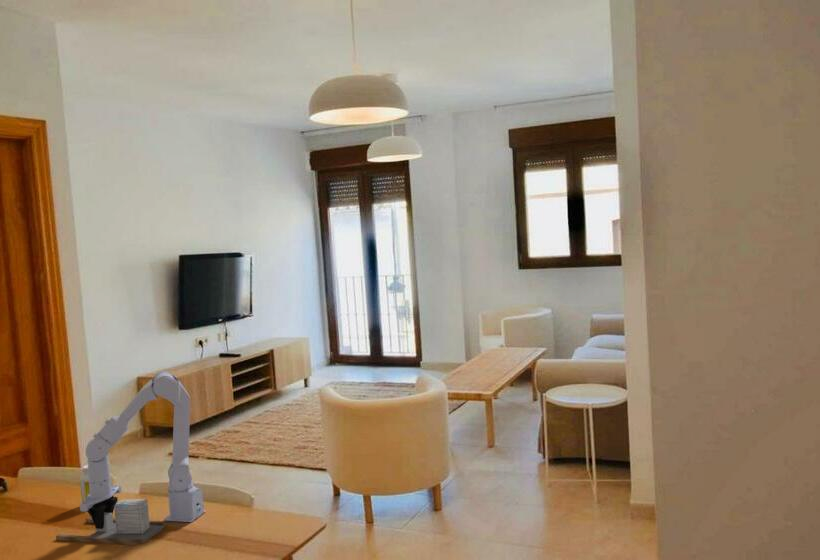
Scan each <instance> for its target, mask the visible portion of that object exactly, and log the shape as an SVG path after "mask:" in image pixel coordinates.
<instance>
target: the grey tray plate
mask: <svg viewBox="0 0 820 560" xmlns="http://www.w3.org/2000/svg"><path fill="white" fill-rule="evenodd" d="M113 519H114V517H113V515H112V513H104V527H103V528H102V529H96V527H94V529H95V532H93V533H92V534H91V535H89V536H92V537H107V538H123V539H137V541H138V543H146V542H147V541H149V540H150V539H152V538H151V537H154V536H156V535H157V534H159V533H158V532H159V531H160V532H161V531H163V530H164V529H165V525H163V526H158V525H150V527H149V528H148V529H147V530H146V531H145V532H144V533H143V534H117V533H116V523H113ZM162 529H163V530H162ZM156 533H157V534H156ZM155 534H156V535H155Z"/></svg>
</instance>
